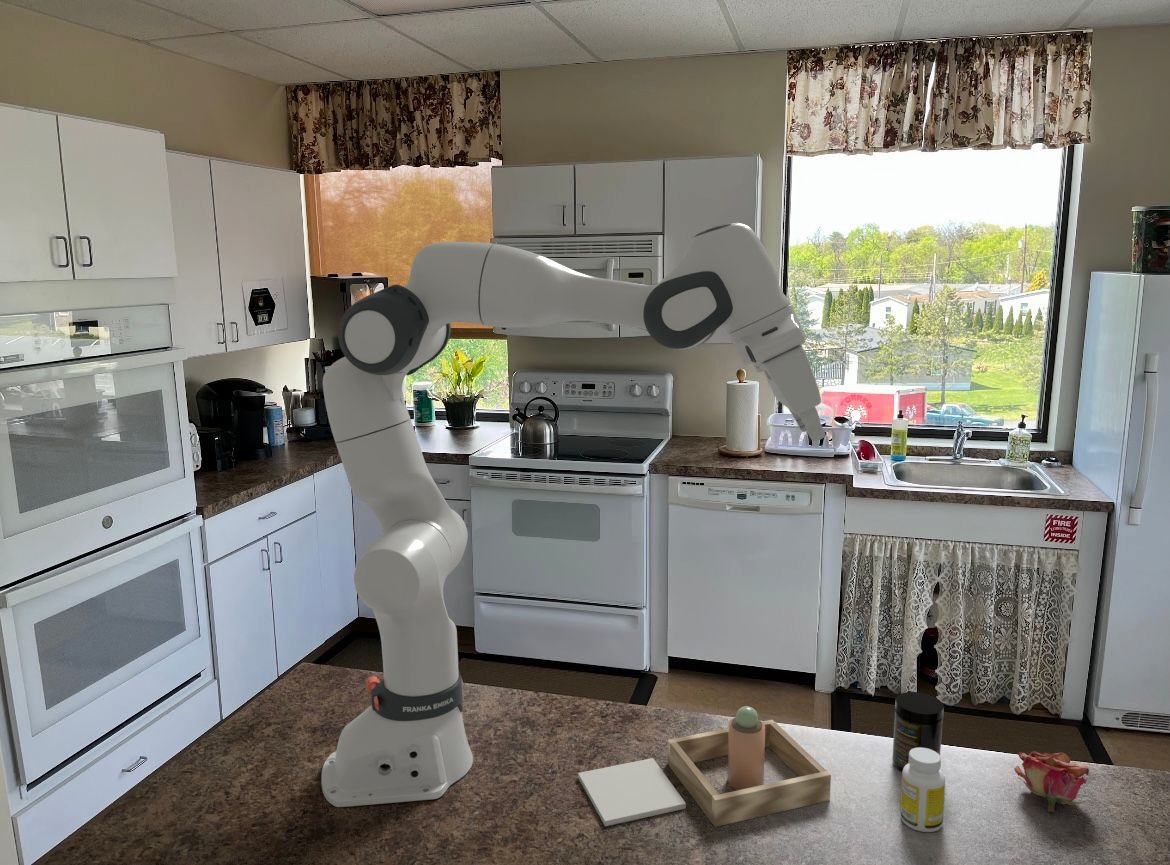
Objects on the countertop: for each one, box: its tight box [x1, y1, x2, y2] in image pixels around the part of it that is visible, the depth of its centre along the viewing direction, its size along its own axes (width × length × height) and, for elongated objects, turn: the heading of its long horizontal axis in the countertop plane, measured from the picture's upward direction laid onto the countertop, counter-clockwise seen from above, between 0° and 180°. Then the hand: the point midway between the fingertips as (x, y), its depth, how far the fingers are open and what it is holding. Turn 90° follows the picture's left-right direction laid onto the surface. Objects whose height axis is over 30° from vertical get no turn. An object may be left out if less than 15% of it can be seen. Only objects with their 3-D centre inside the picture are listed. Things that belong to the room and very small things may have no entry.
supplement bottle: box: [899, 748, 946, 833], centre depth 115 cm, size 5×5×10 cm
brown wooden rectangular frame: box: [667, 719, 832, 828], centre depth 125 cm, size 18×16×4 cm
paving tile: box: [577, 757, 687, 827], centre depth 123 cm, size 12×12×1 cm
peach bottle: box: [727, 705, 766, 791], centre depth 124 cm, size 5×5×12 cm
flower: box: [1013, 750, 1091, 814], centre depth 119 cm, size 10×9×8 cm
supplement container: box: [892, 691, 945, 773], centre depth 128 cm, size 7×7×10 cm
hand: (813, 434), depth 112 cm, fingers open, 8 cm apart
